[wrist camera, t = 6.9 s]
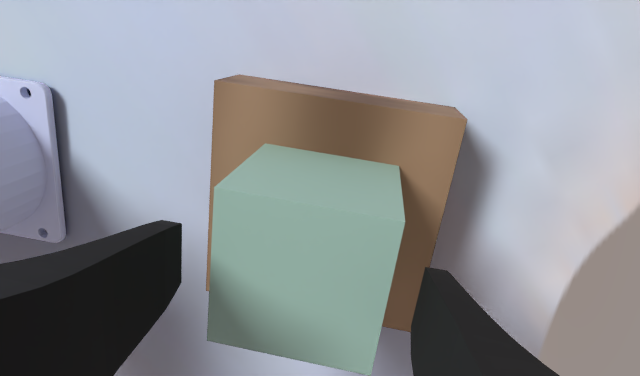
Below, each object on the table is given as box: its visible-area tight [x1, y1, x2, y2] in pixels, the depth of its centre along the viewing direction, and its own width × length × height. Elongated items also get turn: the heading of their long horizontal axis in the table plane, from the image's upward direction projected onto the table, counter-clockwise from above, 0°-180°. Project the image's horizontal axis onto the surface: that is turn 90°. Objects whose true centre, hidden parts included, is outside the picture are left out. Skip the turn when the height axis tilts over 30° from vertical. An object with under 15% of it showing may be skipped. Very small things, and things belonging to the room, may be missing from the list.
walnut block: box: [206, 75, 467, 332], centre depth 18 cm, size 9×9×3 cm
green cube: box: [207, 143, 405, 376], centre depth 14 cm, size 5×5×5 cm
